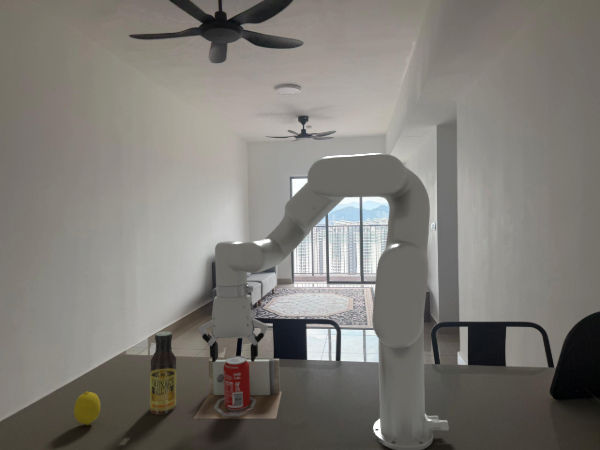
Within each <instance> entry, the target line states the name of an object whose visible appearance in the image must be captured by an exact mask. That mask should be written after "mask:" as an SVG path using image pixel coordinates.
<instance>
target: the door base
mask: <svg viewBox="0 0 600 450" xmlns="http://www.w3.org/2000/svg"><path fill="white" fill-rule="evenodd" d="M272 360H274V386H275V394H274V395H250V397H252V398H253V399H255V400H256V405H255V408H254V411H253V412H251V413H248V414H246V415H244V416H241V417H221V416H220V415H219V414H217V413H216V412H214V407H215V405H216V403H217V401H218V400H220V399H222V398H224V395H214V386H213V362H212V358H209V359H208V362H207V363H208V383H209V385H208V386H209V387H208V389H209V390H208V391H209V393H208V395H207V396H206V398H205V400H204V401H203V403H202V404H201V406H200V408H199V409H198V411H197V413H196V414H195V416H194V417H193V419H194V420H200V419H201V420H203V419H204V420H214V419H215V420H216V419H217V420H224V419H225V420H238V419H239V420H247V419H249V420H276V419H277V417H278V411H279V406H280V402H281V398H282V392H283V391H281V382H280V376H281V375H280V358H272ZM251 404H252V403H251V402H250V404H249V405H248V406H247V408H246V409H248V408H250V407H251ZM219 409H221V410H222V411H223V412H232V411H230V410H228V408H226V407H225V403H222V404H221V405H220V407H219Z"/></svg>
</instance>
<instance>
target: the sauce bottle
mask: <svg viewBox="0 0 600 450" xmlns="http://www.w3.org/2000/svg"><path fill="white" fill-rule="evenodd" d="M172 339H173V332H172V331H168V330H166V331H159V332H156V333H155V334H154V341H155V352H154V354H153V355H152V357H151V360H150V370H149V371H150V373H149V408H150V409H149V412H150V413H151V414H153V415H165V414H168V413H171V412H173V411H174V410H175V409H176V405H177V357H176V356H175V354H174V352H173V350H172Z"/></svg>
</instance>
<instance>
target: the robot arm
mask: <svg viewBox="0 0 600 450" xmlns="http://www.w3.org/2000/svg"><path fill="white" fill-rule="evenodd" d="M377 197H378V198H383V199H385V200H386V201H387V204H388V207H389V211H388V218H387V219H388V220H387V232H386V233H387V234H386V243H385V248H384V250H383V251H382V253H381V254H380V256H379V259H378V261H377V267H376V273H375V285H374V296H373V306H372V316H371V318H372V319H371V320H372V321H371V322H372V323H371V324H372V328H373V331H374V334H375V336H376V337H377V339H378V384H379V385H378V386H379V387H378V389H379V390H378V391H379V392H378V394H379V398H378V399H379V418H378V420H376V421H375V422H374V424H373V427H372V431H373V434H374V435H375V437H376V440H377V442H379V443H380V444H381V445H383V446H385V447H386V448H389V449H392V450H425V449H427V448H428V447H429V446H430V445H432V443H433V441H434V434H433V432H434V431H449V430H450V429H449V428H450V426H449V422H448V420H447V419H440V418H439V416H438V415H428V414H426V408H425V407H426V402H425V398H426V397H425V395H426V394H425V391H426V390H425V349H424V347H425V344H424V343H425V341H424V340H425V339H424V337H425V336H424V332H425V331H424V330H425V329H424V327H425V325H424V323H425V322H424V320H425V318H424V316H425V309H426V307H425V305H426V296H427V286H428V276H429V261H428V260H429V258H428V246H429V245H428V244H429V236H430V220H431V219H430V216H431V205H430V198H429V194H428V190H427V188H426V187H425V185H424V183H423V181H422V179H420V178H419V176H418V175H417V174H415V172H413V171H412V170H411V169H409V168H408V167H406V166H405V165H404V163H403V162H402V161H401V160H400V159H399V158H398V157H396V156H394V155H392V154H389V153H366V154H364V153H363V154H354V155H353V154H352V155H351V154H350V155H333V156H332V155H331V156H325V157H321V158H319V159H317V160H316V161H314V163H313V164H312V165H311V166H310V168H309V169H308V172H307V182H306V183H305V184H304V185H303V186H302V187H301V188H300V189H299V190H298V191H297V192H296V193H295V194H294V195H293V196H292V197H291V198H290V199H289V200H288V201H287V202H286V203H285V205H284V214H283V215H284V216H283V218H282V220H281V221H280V222H279V223H278V225H277V226H276V227H275V228H274V229H273V230H272V231H271V232H270V233H269V234H268V235H267V236H266V237H264V238H262V239H257V240H252V241H247V242H242V241H238V240H235V241H234V240H233V241H231V240H229V241H221V242H218V243H217V244H216V245H215V247H214V259H215V260H214V261H215V284H216V286H215V289H216V296H214V298H213V303H212V311H211V320H209V321H207V322H205V323H202V325H200V326H199V327H198V328H197V329H198V332H199V333H200V336H201V337H202V339H203V340H204V341H205V342H206V343H207V345H208V346H209V357H210V358H211V359H212V362H215V361H216V360H218V359H219V344H218V341H217V340H218V339H245V338H246V339H247V340H249V342H250V343H251V344H250V360H251V361H254V360H256V358H257V357H259V345H258V344H259V343H260V341H261V340H262V339H264V336H265V335H266V332H267V330H268V328H269V325H268V324H266V323H264V322H262V321H260V320H258V319H256V318H255V314H254V306H253V305H254V304H253V300H252V295H250V294H248V293H252V292H253V291H254V286H253V285H249V284H248V276H247V273H248V274H249V273H250V274H258V273H261V272H265V271H267V270H269V269H271V268H274V267H276V266H277V267H278V265H280V264H281V262H283V261H284V260H285V259H286V258H287V257H288V256H290V254H291V253H293V251H295V250H296V248H298V246H299V245H300V244H301V243H302V242H303V241H304V240H305V238H306V237H308V235H309V234H310V233H311V231H312V230H313V229H314V228H315V227H316V226H317V225H318V224H319V223H320V222H321V221H322V220H323V219H324V218H325V217H326V216H327V215H328V214H329V213H330V212H331V211H332V210H334V209H335V208H336V206H338V204H340V203H341V202H342V201H343V200H344V199H345V198H377ZM210 328H211V334H212V335H211V334H209V332H208V330H207V329H210ZM256 328H258V329H260V332H259V333H258V334H256V333H255V329H256Z"/></svg>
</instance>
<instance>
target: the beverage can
mask: <svg viewBox="0 0 600 450" xmlns="http://www.w3.org/2000/svg"><path fill="white" fill-rule="evenodd" d="M225 360H226V363H225V365H224V398H225V407H226V408H228V410H230V411H232V412H240V411H243V410H245V409H246V408H247V406H248V405H249V404H250V375H249V363H248V362H247V361H246V360H247V357H245V356H242V355H236V356H230V357H228V358H227V359H225Z"/></svg>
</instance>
